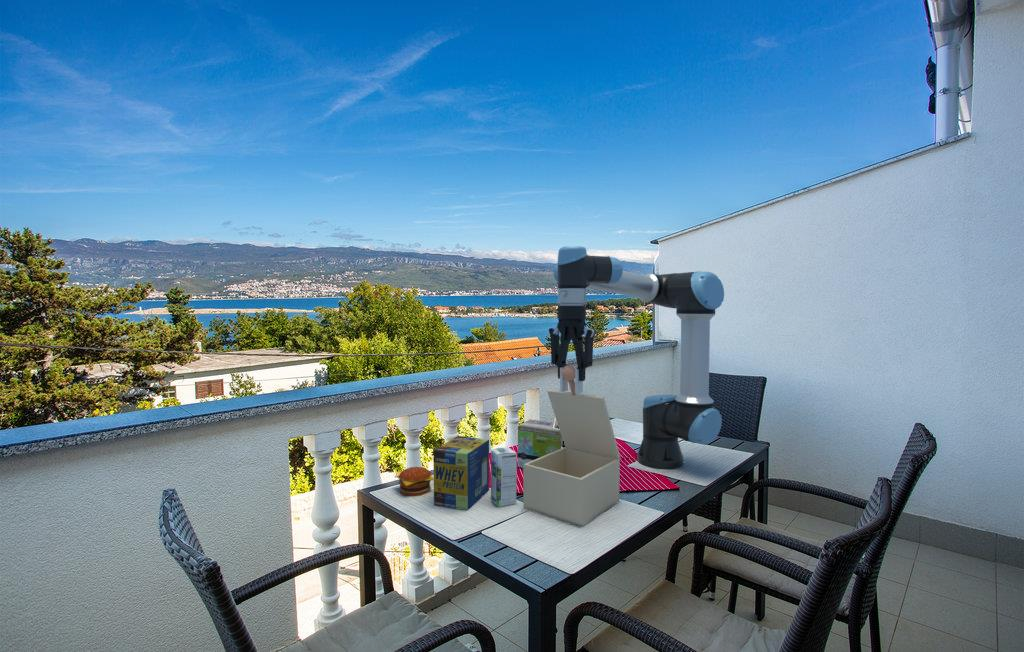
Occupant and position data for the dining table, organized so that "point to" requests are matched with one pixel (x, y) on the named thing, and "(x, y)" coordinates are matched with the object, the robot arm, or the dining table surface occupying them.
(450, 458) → the protein box
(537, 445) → the tea box
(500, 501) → the syrup box
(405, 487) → the hamburger
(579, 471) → the carton
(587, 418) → the lid
